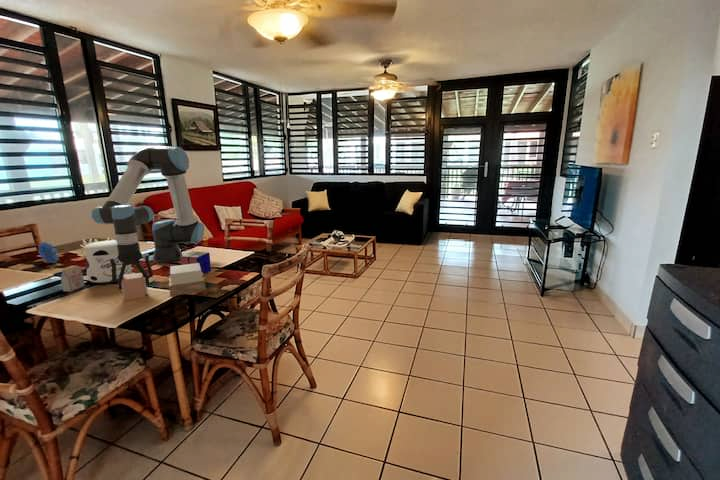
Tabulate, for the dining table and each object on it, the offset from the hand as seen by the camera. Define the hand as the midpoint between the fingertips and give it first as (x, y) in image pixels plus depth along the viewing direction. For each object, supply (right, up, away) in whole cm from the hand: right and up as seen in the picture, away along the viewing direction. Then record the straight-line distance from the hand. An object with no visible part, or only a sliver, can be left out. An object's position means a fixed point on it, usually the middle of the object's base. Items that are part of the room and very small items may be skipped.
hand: (135, 294), depth 144 cm
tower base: (+17, +1, +10) cm, 20 cm away
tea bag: (-33, +1, +7) cm, 33 cm away
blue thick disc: (-76, +10, +41) cm, 87 cm away
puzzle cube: (+12, +6, +30) cm, 33 cm away
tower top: (+18, +6, +8) cm, 20 cm away
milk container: (-24, +4, +18) cm, 30 cm away
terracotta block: (0, -1, 0) cm, 1 cm away
